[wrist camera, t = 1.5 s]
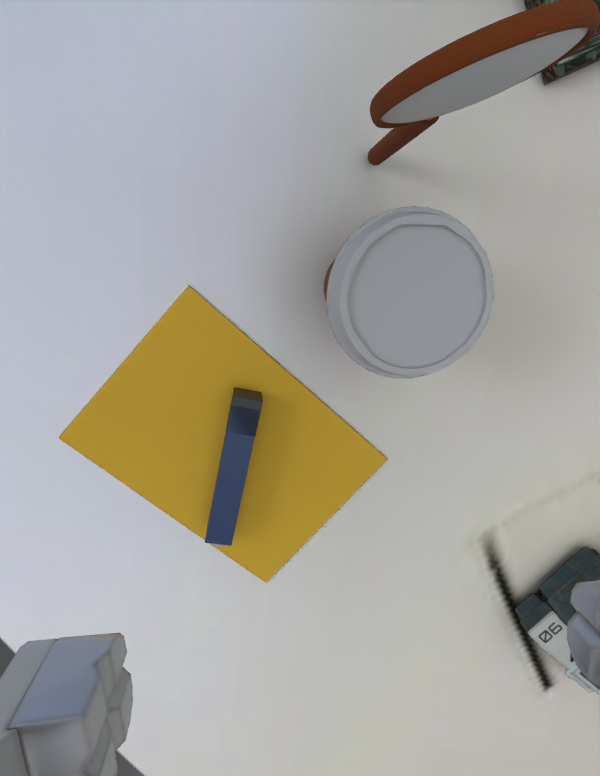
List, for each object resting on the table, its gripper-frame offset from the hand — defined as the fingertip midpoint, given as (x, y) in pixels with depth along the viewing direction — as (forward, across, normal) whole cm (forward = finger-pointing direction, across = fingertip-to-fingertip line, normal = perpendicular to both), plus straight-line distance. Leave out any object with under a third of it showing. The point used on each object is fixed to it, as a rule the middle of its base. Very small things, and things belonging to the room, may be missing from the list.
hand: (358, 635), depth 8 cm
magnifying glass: (+30, -8, -14) cm, 34 cm away
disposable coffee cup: (+30, -7, -5) cm, 31 cm away
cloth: (+30, +4, +8) cm, 31 cm away
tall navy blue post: (+30, +4, +9) cm, 31 cm away
